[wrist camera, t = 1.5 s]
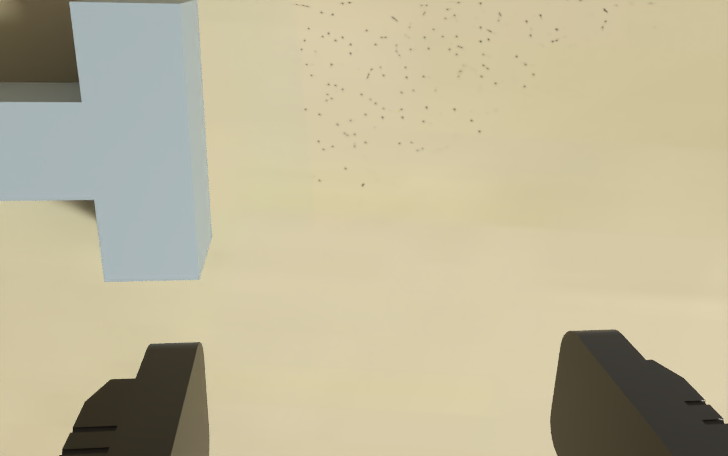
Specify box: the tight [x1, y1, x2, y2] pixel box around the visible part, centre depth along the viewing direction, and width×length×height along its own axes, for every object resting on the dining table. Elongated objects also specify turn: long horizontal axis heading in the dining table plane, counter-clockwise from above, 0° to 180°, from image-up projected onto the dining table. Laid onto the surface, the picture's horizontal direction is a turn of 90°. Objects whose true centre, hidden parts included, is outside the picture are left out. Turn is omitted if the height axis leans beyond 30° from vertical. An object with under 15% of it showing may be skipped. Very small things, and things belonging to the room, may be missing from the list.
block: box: [0, 0, 212, 282], centre depth 25 cm, size 10×10×4 cm
